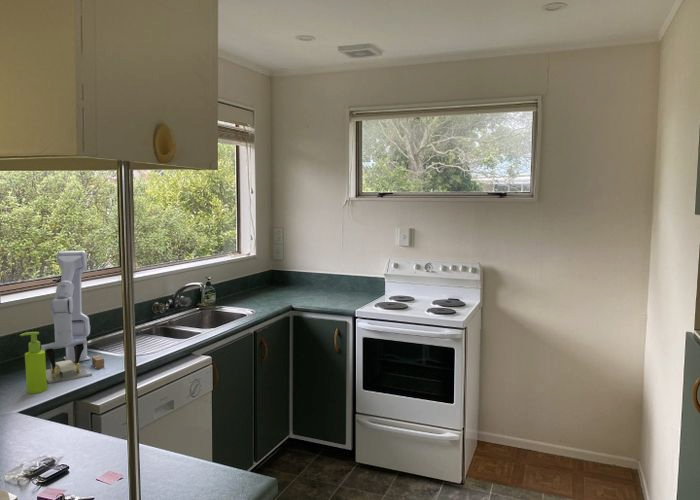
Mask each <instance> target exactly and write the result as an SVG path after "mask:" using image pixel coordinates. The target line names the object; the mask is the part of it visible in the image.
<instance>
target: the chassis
mask: <svg viewBox="0 0 700 500" xmlns="http://www.w3.org/2000/svg"><path fill="white" fill-rule="evenodd" d="M72 362H73V363H74V364H75V360H72ZM92 376H93V373H92V372H91V371H90V370H89V369H88V368H86V367H85V366H84V365H83V364H82V363H81V362H79V363H76V370H70V371H65V372H60V371H59V370H58V367H56V366H55V367H54V370H53V369H52V365H51V364H50V368H49V369H46V377H47V384H49V385H50V384H54V383H55V384H56V383H59V382H66V381H70V380H75V379H80V378H85V377H92Z"/></svg>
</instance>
